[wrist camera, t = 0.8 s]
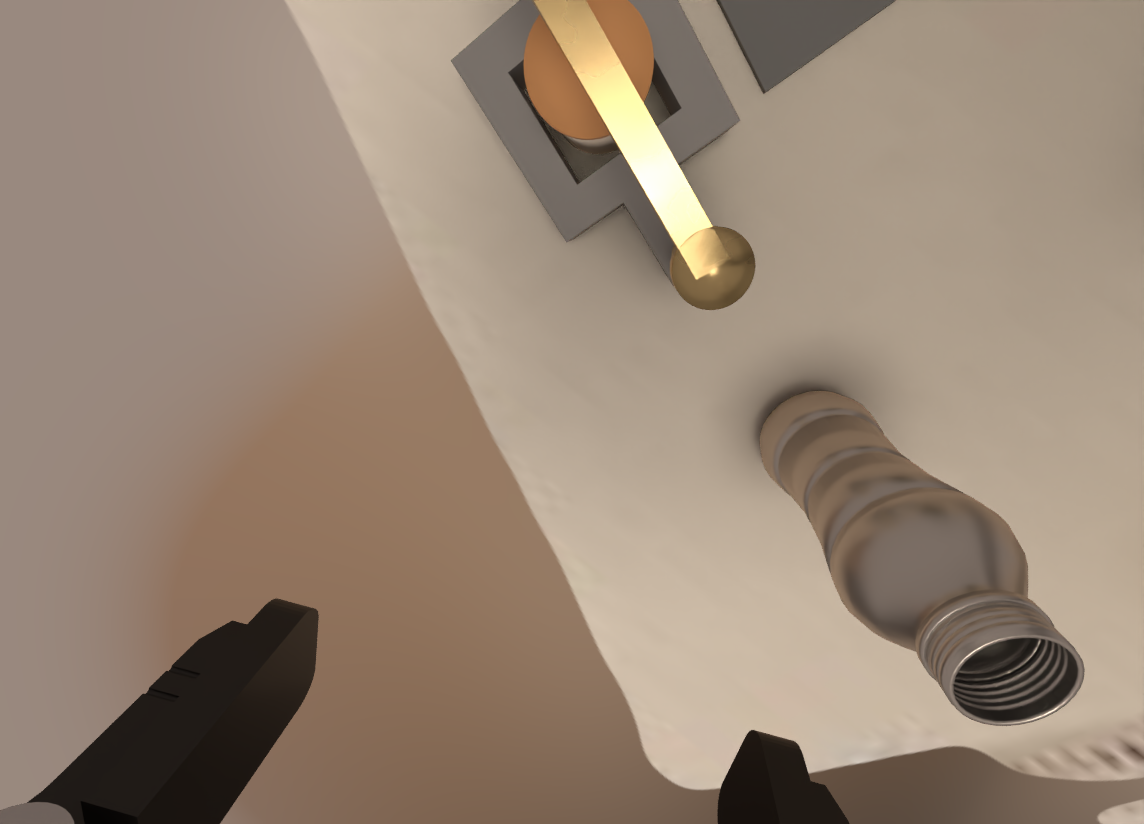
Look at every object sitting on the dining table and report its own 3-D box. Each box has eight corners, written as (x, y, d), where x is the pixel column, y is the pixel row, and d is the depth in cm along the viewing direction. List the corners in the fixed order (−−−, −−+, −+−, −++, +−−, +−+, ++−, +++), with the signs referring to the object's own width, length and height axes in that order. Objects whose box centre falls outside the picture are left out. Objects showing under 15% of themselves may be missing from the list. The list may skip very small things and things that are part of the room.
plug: (613, 27, 28) (608, -48, 20) (664, 119, 29) (678, 84, 21) (533, 92, 30) (498, 47, 22) (585, 177, 31) (570, 165, 23)
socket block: (628, -52, 27) (629, -207, 17) (768, 213, 30) (836, 213, 21) (473, 80, 30) (395, 12, 20) (618, 310, 33) (614, 350, 23)
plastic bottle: (734, 412, 35) (859, 643, 16) (837, 361, 33) (1112, 555, 14) (776, 490, 36) (934, 784, 18) (876, 446, 35) (1169, 721, 16)
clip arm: (533, -115, 20) (510, -193, 16) (746, 270, 24) (769, 281, 20) (470, -56, 21) (434, -117, 17) (686, 307, 25) (697, 324, 21)
